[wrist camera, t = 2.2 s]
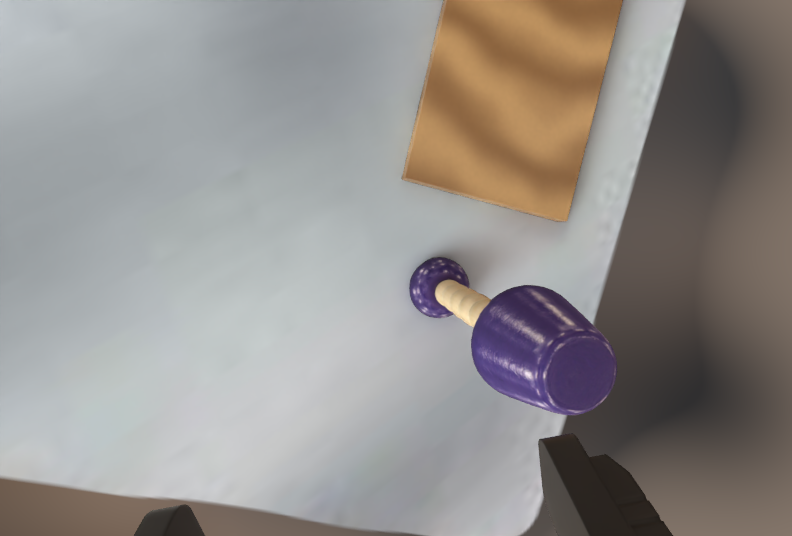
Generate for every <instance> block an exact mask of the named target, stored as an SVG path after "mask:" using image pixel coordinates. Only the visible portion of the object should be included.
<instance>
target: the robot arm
mask: <svg viewBox="0 0 792 536" xmlns="http://www.w3.org/2000/svg"><path fill="white" fill-rule="evenodd" d="M538 445H539V456H540V467H541V477H542V487H543V494H544V498H545V502H546V506H547V509H548V512H549V515H550V518H551V520H552V522H553V525H554V527H555V530H556V532H557V534H558V536H673V535H672V534H671V532H670V531H669V529H668V528H667V526H666V525H665V524H664V522H663V521H661V520H660V517H659V515H658V513H657V512H656V511H655V509H654V507H653V506H652V505H651V503H650V502H649V501H647V499H646V497H645V494H644V493H643V492H642V490H641V489H640V487H639V486H638V484H637V483H636V481H635V480H634V478H633V477H632V475H631V474H630V473H629V472H628V471H627V470H626V469H624V468H623V467H622V466H621V465H619V464H618V463H617V462H615V461H614V460H613V459H611V458H610V457H609V456H608V455H606V454H605V455H599V456H594V457H589V456H588V455H587V453H586V451H585V450H584V448H583V446H582V445H581V444H580V442H579V440H578V438H577V437H576V436H575V435H574V434H573V433H571V434H565V435H560V436H555V437H549V438H544V439H539V442H538ZM134 536H205V535H204V533H203V531H202V529H201V527H200V525H199V523H198V521H197V519H196V517H195V516H194V514H193V512H192V510H191V508H190V507H189V506H188V505H180V506H175V507H169V508H164V509H158V510H153V511H151V512H149V513H148V514H147V515H146V516H145V517H144V519H143V520H142V522H141V524H140V525H139V527H138V529H137V531H136V533H135V534H134Z"/></svg>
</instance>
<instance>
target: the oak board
mask: <svg viewBox="0 0 792 536" xmlns="http://www.w3.org/2000/svg"><path fill="white" fill-rule="evenodd" d="M622 2H623V0H443V4H442V9H441V13H440V17H439V21H438V26H437V30H436V34H435V39H434V43H433V47H432V51H431V56H430V60H429V64H428V69H427V73H426V77H425V81H424V86H423V90H422V94H421V98H420V103H419V107H418V111H417V116H416V120H415V124H414V128H413V133H412V137H411V141H410V146H409V150H408V154H407V158H406V163H405V167H404V171H403V176H402V180H405V181H409V182H413V183H416V184H420V185H424V186H427V187H431V188H435V189H439V190H442V191H446V192H450V193H453V194H457V195H461V196H464V197H468V198H472V199H476V200H479V201H483V202H487V203H490V204H494V205H498V206H502V207H505V208H509V209H513V210H516V211H520V212H524V213H528V214H531V215H535V216H539V217H542V218H546V219H550V220H554V221H557V222H560V221H567V219H568V215H569V211H570V207H571V203H572V199H573V195H574V191H575V187H576V183H577V180H578V176H579V172H580V168H581V164H582V160H583V156H584V152H585V148H586V144H587V140H588V136H589V132H590V128H591V124H592V120H593V116H594V113H595V109H596V105H597V101H598V97H599V93H600V89H601V85H602V81H603V77H604V73H605V69H606V65H607V61H608V57H609V53H610V49H611V45H612V42H613V38H614V34H615V30H616V26H617V22H618V18H619V14H620V10H621V6H622Z"/></svg>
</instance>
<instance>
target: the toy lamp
mask: <svg viewBox="0 0 792 536" xmlns="http://www.w3.org/2000/svg"><path fill="white" fill-rule="evenodd" d="M409 289H410V296H411V300H412V302H413V304H414V305H415V307H416V308H417V309H418V310H419V311H420V312H422V313H423V314H425V315H427V316H430V317H434V318H443V317H448V316H450V315H453V314H455V315H456V316H457V317H459V318H461V319H462V320H463V321H464V322H465V323H467V324H468V325H470V326H473V328H474V329H473V334H472V339H471V348H472V356H473V360H474V364H475V366H476V369H477V371H478V372H479V374H480V375H481V376H482V378H483V379H484V380H485V381H486V382H487V383H488V384H489V385H490V386H491V387H492V388H494V389H495V390H497V391H498V392H500V393H502V394H504V395H507V396H509V397H511V398H514V399H517V400H520V401H522V402H525V403H528V404H530V405H533V406H536V407H539V408H542V409H545V410H548V411H551V412H554V413H558V414H563V415H578V414H582V413H585V412H588V411H590V410H592V409H594V408H595V407H597V406H598V405H599V404H600V403H601V402H603V401H604V400H605V398H606V397H607V396H608V395H609V393H610V391H611V390H612V387H613V385H614V383H615V379H616V374H617V361H616V357H615V354H614V351H613V349H612V347H611V345H610V343H609V342H608V341H607V339H606V338H605V337H604V336H603V335H602V333H600V331H599V330H598V329H596V327H595V326H593V325H592V324H591V323H590V322H589V321H588V320H587V319H586V318H585V317H584V316H583V315H582V314H581V313H580V312H579V311H578V310H577V309H576V308H575V307H573V306H572V305H571V304H570V303H569V302H568V301H567V300H566V299H565V298H563V297H562V296H561V295H559V294H558V293H556V292H554V291H553V290H550V289H548V288H545V287H540V286H533V285H523V286H518V287H513V288H511V289H508V290H506V291H504V292H502V293H500V294H499V295H497V296H496V297H494V298H493V299H492V300H490V299H489V298H488V297H486V296H484V295H482V294H478V293H477V292H476V291H474V290H472V289H469V281H468V278H467V275H466V273H465V271H464V270H463V268H462V267H461V266H460V265H459V264H457V263H456V262H454V261H453V260H450V259H447V258H441V257H438V258H432V259H430V260H427V261H425V262H424V263H423V264H422V265H420V266H419V267H418V268H417V269H416V271H415V272H414V274H413V275H412V278H411V280H410V288H409Z"/></svg>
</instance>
